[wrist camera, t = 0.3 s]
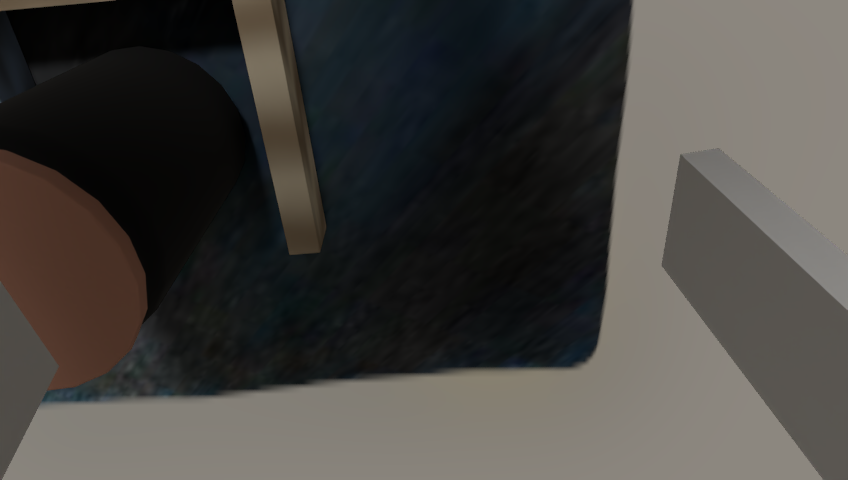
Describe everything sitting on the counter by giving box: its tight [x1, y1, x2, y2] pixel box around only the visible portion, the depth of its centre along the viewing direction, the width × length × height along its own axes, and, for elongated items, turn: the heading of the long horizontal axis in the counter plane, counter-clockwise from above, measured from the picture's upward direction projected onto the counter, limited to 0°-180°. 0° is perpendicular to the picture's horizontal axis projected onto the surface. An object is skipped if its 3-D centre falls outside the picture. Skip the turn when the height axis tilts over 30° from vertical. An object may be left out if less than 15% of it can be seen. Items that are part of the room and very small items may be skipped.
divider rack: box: [0, 0, 326, 255], centre depth 36 cm, size 20×34×4 cm, turn 95°
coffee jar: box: [0, 46, 246, 390], centre depth 29 cm, size 11×11×18 cm
